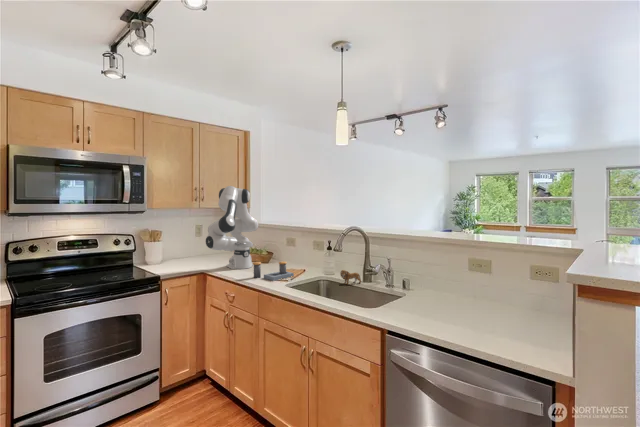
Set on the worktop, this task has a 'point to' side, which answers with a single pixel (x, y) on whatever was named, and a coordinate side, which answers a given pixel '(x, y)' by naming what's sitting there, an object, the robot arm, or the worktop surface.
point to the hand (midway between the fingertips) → (247, 245)
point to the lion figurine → (350, 276)
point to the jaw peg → (257, 269)
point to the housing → (277, 276)
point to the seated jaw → (282, 267)
